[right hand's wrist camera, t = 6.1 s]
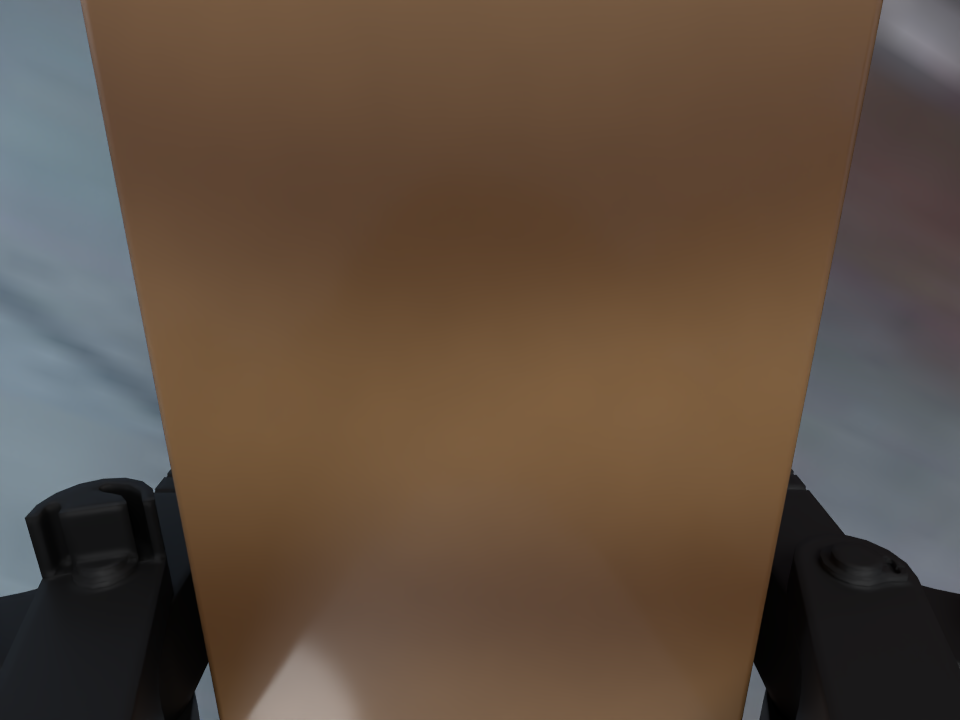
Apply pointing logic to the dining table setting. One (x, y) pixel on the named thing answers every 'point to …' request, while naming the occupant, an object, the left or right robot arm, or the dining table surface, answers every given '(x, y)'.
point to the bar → (481, 334)
